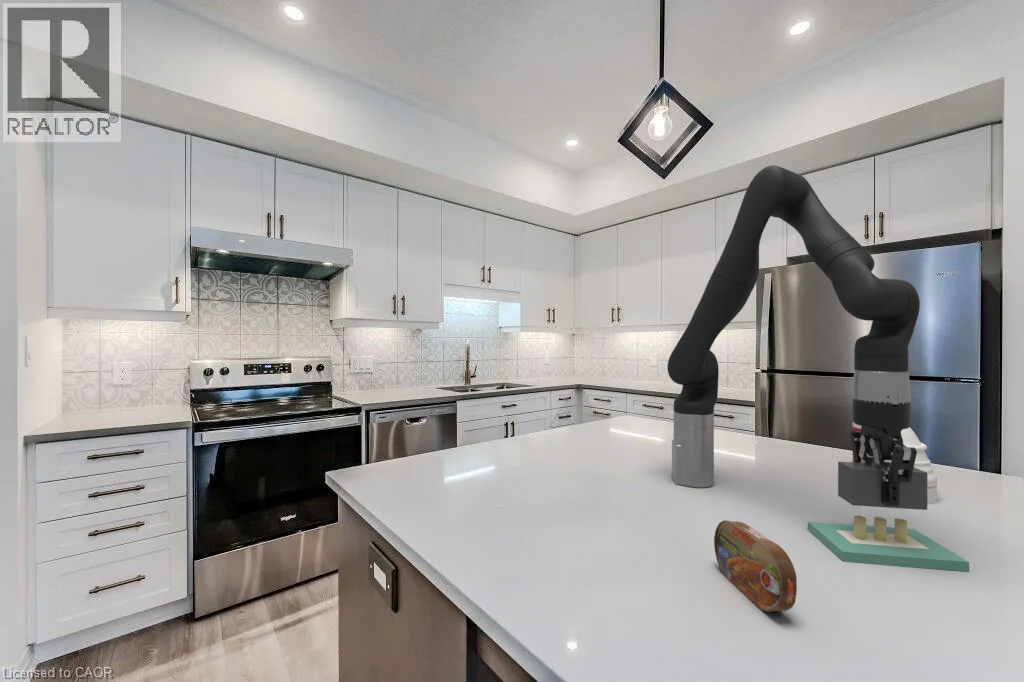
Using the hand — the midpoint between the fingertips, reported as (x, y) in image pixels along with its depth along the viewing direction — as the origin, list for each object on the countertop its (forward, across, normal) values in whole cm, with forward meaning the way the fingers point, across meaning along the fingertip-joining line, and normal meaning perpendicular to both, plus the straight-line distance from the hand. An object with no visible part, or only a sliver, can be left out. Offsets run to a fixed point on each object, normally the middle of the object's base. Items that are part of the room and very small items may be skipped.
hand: (880, 498), depth 75 cm
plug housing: (+1, 0, 0) cm, 1 cm away
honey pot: (+9, -31, +20) cm, 38 cm away
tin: (+9, +18, -26) cm, 32 cm away
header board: (+8, 0, 0) cm, 8 cm away
